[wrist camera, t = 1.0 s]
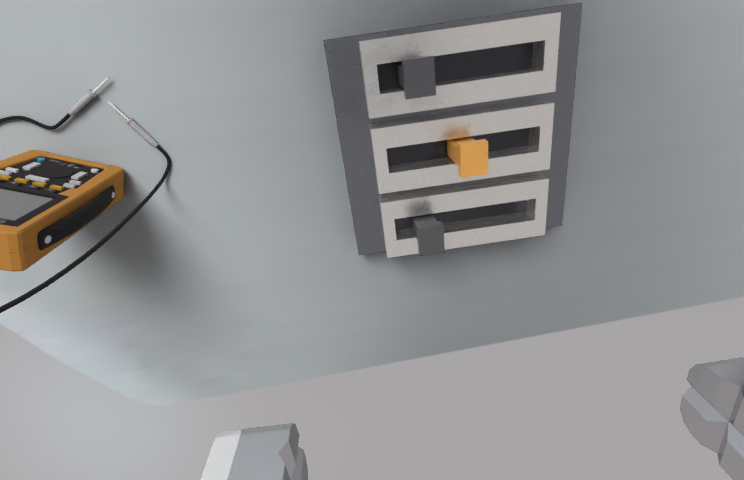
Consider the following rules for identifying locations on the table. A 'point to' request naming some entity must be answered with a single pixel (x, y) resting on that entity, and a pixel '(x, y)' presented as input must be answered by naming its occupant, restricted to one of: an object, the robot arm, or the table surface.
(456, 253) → the table surface
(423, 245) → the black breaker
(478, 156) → the orange breaker
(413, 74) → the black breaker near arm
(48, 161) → the multimeter
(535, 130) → the breaker board
